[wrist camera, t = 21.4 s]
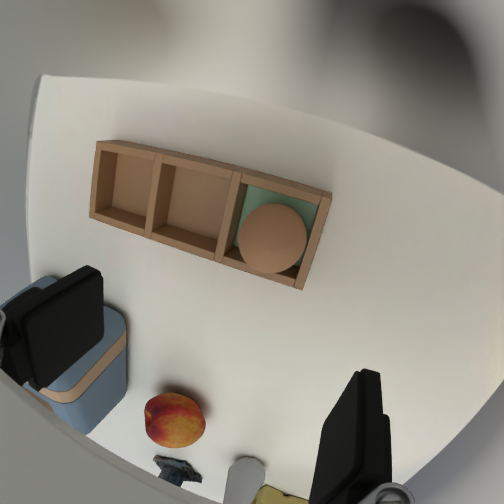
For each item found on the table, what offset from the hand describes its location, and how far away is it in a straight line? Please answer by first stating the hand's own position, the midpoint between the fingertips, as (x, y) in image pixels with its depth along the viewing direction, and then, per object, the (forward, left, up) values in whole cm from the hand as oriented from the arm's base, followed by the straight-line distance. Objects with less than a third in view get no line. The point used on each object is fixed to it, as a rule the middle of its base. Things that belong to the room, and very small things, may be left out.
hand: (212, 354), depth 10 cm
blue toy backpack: (+24, +25, -20) cm, 40 cm away
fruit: (+7, +29, -20) cm, 36 cm away
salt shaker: (-5, +39, -20) cm, 44 cm away
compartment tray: (+9, +1, -20) cm, 22 cm away
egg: (+1, +1, -20) cm, 19 cm away
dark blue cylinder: (+7, +51, -20) cm, 55 cm away
